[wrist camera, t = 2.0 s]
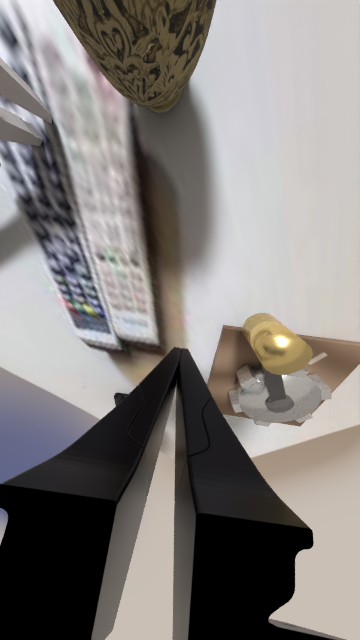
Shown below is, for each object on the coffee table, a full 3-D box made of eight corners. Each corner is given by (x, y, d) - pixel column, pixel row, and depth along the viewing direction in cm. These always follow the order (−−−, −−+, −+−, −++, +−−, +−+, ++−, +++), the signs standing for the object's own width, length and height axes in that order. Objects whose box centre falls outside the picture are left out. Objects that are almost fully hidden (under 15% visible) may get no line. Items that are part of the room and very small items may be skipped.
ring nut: (318, 403, 19) (365, 461, 13) (238, 414, 21) (253, 465, 16) (311, 286, 12) (399, 310, 7) (199, 325, 15) (201, 362, 10)
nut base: (296, 420, 22) (300, 427, 21) (201, 405, 23) (201, 411, 22) (366, 343, 15) (375, 348, 14) (223, 325, 16) (224, 328, 15)
